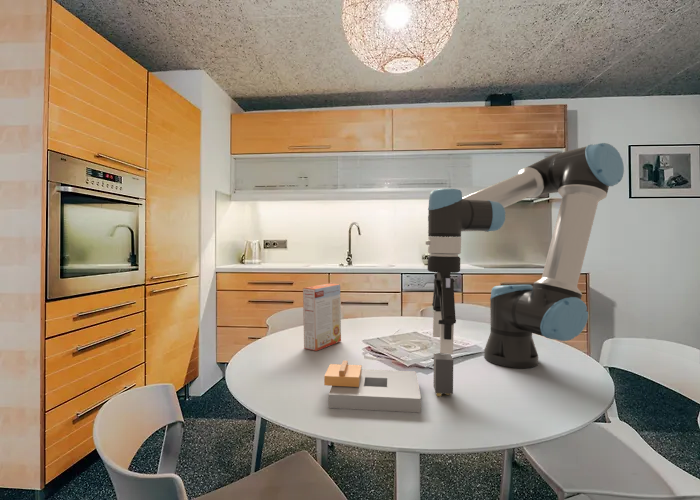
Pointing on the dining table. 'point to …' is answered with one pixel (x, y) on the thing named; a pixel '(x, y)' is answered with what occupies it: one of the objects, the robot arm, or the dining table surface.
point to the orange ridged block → (343, 375)
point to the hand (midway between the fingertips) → (442, 344)
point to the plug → (443, 374)
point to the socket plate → (379, 392)
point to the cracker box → (321, 316)
